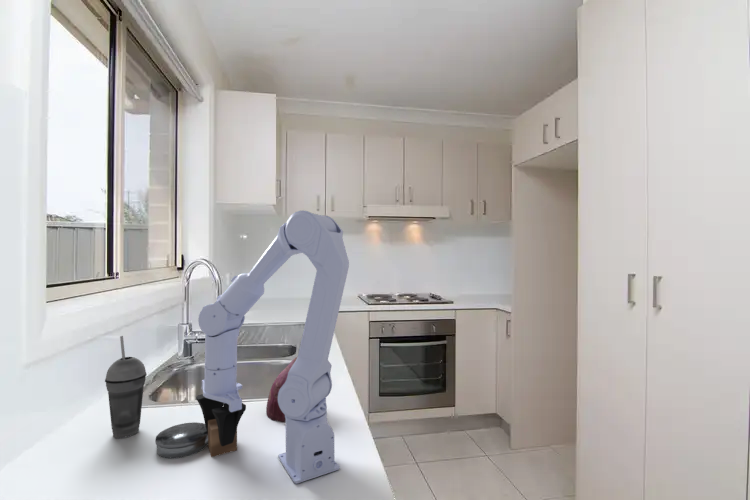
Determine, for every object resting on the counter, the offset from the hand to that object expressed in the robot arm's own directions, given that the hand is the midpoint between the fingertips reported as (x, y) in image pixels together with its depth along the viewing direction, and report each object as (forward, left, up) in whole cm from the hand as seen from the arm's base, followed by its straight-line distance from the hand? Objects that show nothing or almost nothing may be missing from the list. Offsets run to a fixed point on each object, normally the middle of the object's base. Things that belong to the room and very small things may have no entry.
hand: (219, 437), depth 71 cm
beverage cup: (+17, +16, -2) cm, 23 cm away
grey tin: (+4, +6, -3) cm, 8 cm away
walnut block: (0, 0, -2) cm, 2 cm away
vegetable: (+9, -16, -2) cm, 19 cm away
